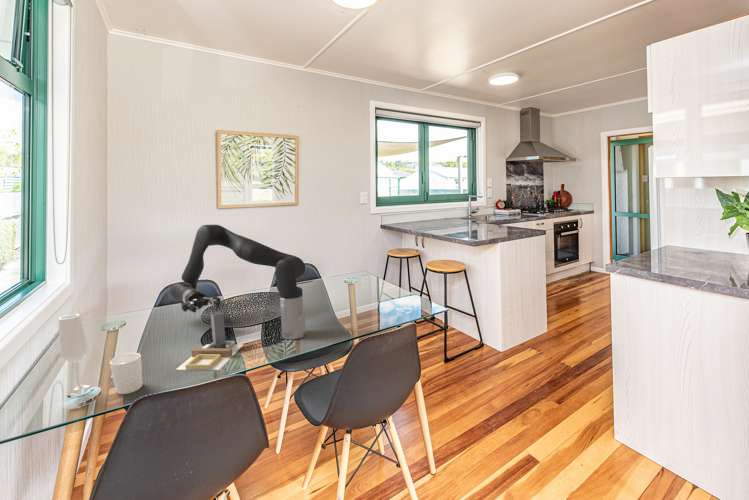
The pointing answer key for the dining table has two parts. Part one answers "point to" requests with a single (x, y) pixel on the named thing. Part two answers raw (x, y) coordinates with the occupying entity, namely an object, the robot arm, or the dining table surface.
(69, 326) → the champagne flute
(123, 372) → the white cup
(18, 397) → the dining table surface
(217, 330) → the bar
